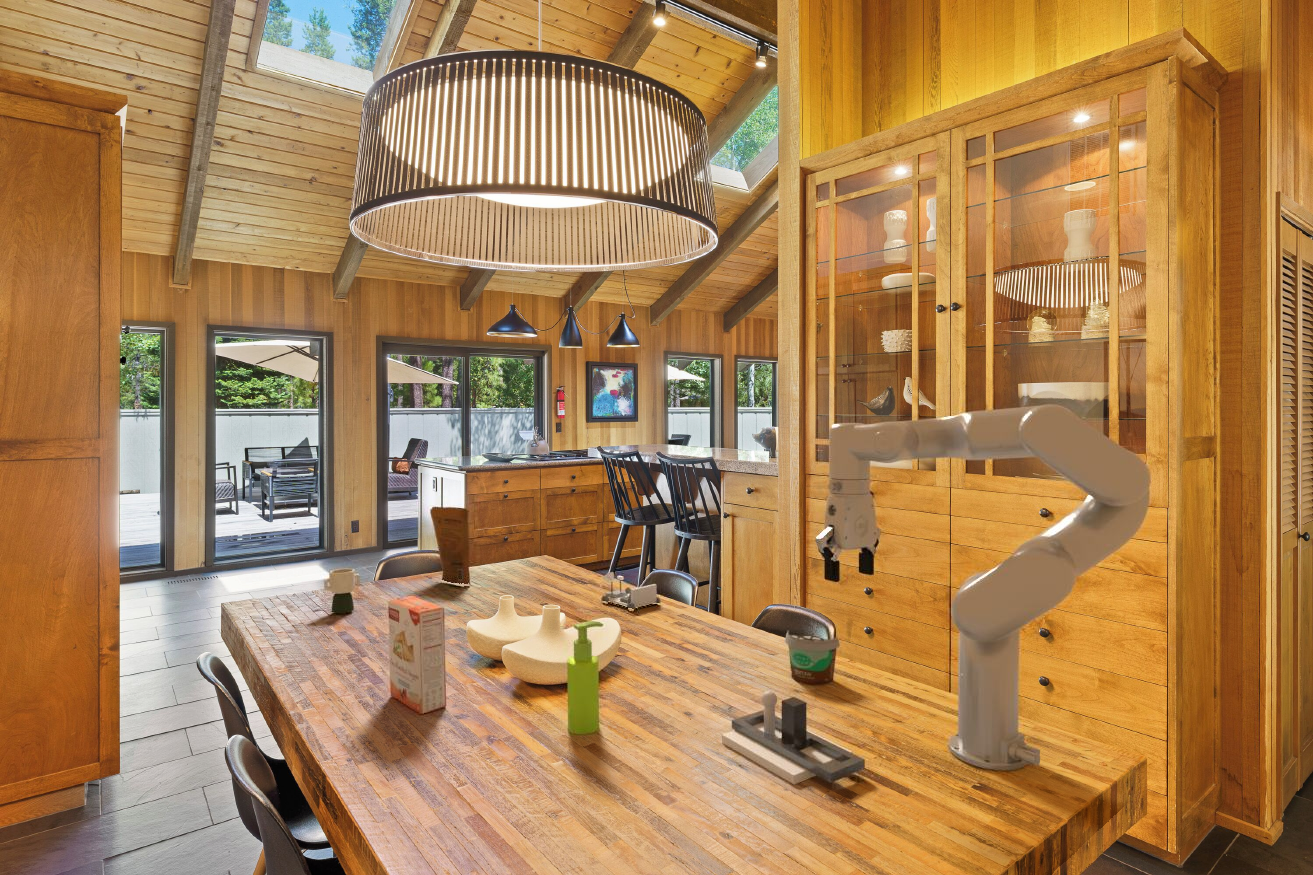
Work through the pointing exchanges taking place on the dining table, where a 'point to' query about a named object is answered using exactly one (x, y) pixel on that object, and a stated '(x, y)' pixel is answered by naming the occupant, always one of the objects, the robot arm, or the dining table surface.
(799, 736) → the grey frame with handle
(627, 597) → the grey tabletop ornament
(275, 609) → the dining table surface
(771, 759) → the white pegged base
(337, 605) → the character mug
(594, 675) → the soap dispenser
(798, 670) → the food container
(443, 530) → the pancake mix bag
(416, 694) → the cracker box
